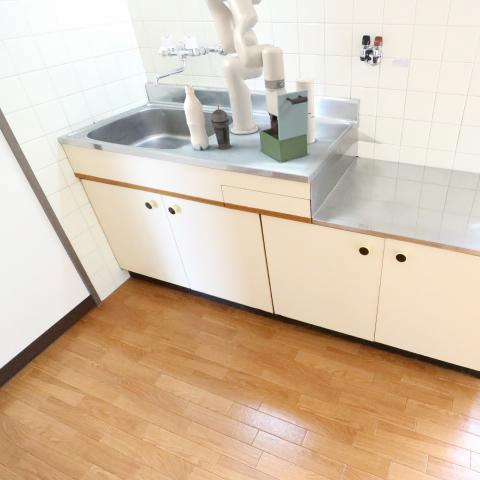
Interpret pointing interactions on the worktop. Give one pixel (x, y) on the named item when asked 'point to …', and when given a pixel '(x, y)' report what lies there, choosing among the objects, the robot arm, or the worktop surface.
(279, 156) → the box
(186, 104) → the water bottle
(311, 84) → the cylindrical container
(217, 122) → the beverage cup
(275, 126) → the block
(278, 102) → the grey lid with handle
